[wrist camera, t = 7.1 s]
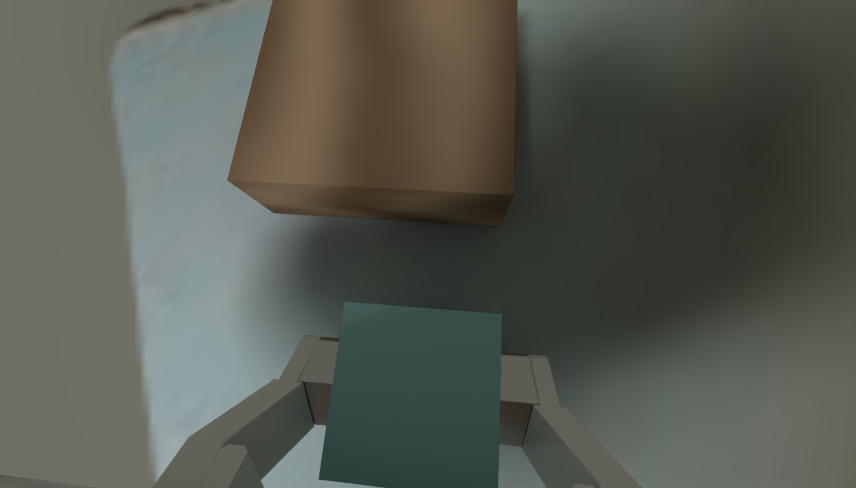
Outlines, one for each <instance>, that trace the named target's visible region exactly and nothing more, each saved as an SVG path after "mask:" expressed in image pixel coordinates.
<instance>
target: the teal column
mask: <svg viewBox="0 0 856 488" xmlns="http://www.w3.org/2000/svg"><path fill="white" fill-rule="evenodd" d="M501 342H502V314H497V313H484V312H471V311H459V310H446V309H433V308H420V307H408V306H395V305H382V304H369V303H356V302H344V307H343V314H342V321H341V328H340V335H339V342H338V349H337V356H336V363H335V370H334V377H333V383H332V390H331V397H330V404H329V411H328V418H327V425H326V432H325V439H324V446H323V453H322V460H321V467H320V474H319V480H327V481H336V482H344V483H352V484H360V485H369V486H377V487H385V488H498V461H499V421H500V382H501Z"/></svg>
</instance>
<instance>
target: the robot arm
mask: <svg viewBox="0 0 856 488" xmlns="http://www.w3.org/2000/svg"><path fill="white" fill-rule="evenodd" d="M338 342H339V338H330V337H318V336H309V335H306V336H305V337H304V338H303V339H302V340H301V342H300V344H299V345H298V347H297V349H296V351H295V352H294V354H293V356H292V358H291V359H290V361H289V363H288V365H287V366H286V368H285V370H284V372H283V373H282V375H281V377H280V379H279V380H276V379H274V380H272V381H271V382H269V383H268V384H266V385H265V386H263V387H262V388H261V389H259V390H258V391H256V392H255V393H253V394H252V395H250V396H249V397H247V398H246V399H244V400H243V401H241V402H240V403H239V404H237V405H236V406H234V407H233V408H231V409H230V410H228V411H227V412H225V413H224V414H222V415H221V416H219V417H218V418H217V419H215V420H214V421H212V422H211V423H209V424H208V425H206V426H205V427H203V428H202V429H200V430H199V431H197V432H196V433H194V434H193V435H192V436H190V437H189V438H188V439H187V441H186V442H185V443H184V445H183V446H182V448H181V449H180V450H179V452H178V453H177V454H176V456H175V457H174V459H173V460H172V461H171V463H170V464H169V466H168V467H167V468H166V470H165V471H164V473H163V474H162V475H161V477H160V478H159V479H158V481H157V482H156V484H155V485H154V486H153V488H264V487H263V485H262V482H261V479H262V478H263V477H264V476H265V475H266V474H267V473H268V472H269V471H270V470H271V469H272V468H273V467H274V466H275V465H276V464H277V463H278V462H279V461H280V460H281V459H282V458H283V457H284V456H285V455H286V454H287V453H288V452H289V451H290V450H291V449H292V448H293V447H294V446H295V445H296V444H297V443H298V442H299V441H300V440H301V439H302V438H303V437H304V436H305V435H306V434H307V433H308V432H309V431H310V430H311V429H312V428H313V427H314V424H315V425H327V418H328V411H329V404H330V397H331V390H332V383H333V377H334V370H335V363H336V356H337V349H338ZM499 444H505V445H512V446H519V447H522V449H523V451H524V453H525V454H526V456H527V457H528V459H529V460H530V462H531V464H532V465H533V467H534V468H535V470H536V472H537V473H538V475H539V476H540V478H541V480H542V481H543V483H544V484H545V486H546V487H547V488H641V487H640V486H639V485H638V483H637V482H636V481H635V480H634V479H633V478H632V477H631V476H630V475H629V474H628V473H627V472H626V471H625V470H624V469H623V467H622V466H621V465H620V464H619V463H618V462H617V461H616V460H615V459H614V458H613V457H612V456H611V455H610V454H609V453H608V452H607V450H606V449H605V448H604V447H603V446H602V445H601V444H600V443H599V442H598V441H597V440H596V439H595V438H594V437H593V436H592V435H591V433H590V432H589V431H588V430H587V429H586V428H585V427H584V426H583V425H582V424H581V423H580V422H579V421H578V420H577V419H576V417H575V416H574V415H573V414H572V413H571V412H570V411H569V410H568V409H567V408H563V407H561V406H560V402H559V398H558V394H557V390H556V387H555V383H554V379H553V375H552V372H551V368H550V364H549V360H548V358H547V357H546V356H539V355H527V354H515V353H502V352H501V382H500V421H499ZM0 488H99V487H90V486H84V485H76V484H67V483H61V482H53V481H45V480H37V479H30V478H22V477H14V476H6V475H0Z"/></svg>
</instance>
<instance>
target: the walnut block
mask: <svg viewBox="0 0 856 488" xmlns="http://www.w3.org/2000/svg"><path fill="white" fill-rule="evenodd" d="M516 53H517V0H273V2H272V6H271V10H270V14H269V18H268V22H267V25H266V29H265V33H264V37H263V41H262V45H261V49H260V53H259V57H258V61H257V65H256V69H255V73H254V77H253V81H252V85H251V89H250V93H249V97H248V101H247V105H246V109H245V112H244V116H243V120H242V124H241V128H240V132H239V136H238V140H237V144H236V148H235V152H234V156H233V160H232V164H231V168H230V172H229V176H228V181H229V182H231V183H232V184H233V185H235V186H236V187H238V188H239V189H240V190H242V191H243V192H245V193H246V194H248V195H249V196H250V197H252V198H253V199H255V200H256V201H257V202H259V203H260V204H262V205H263V206H265V207H266V208H267V209H269V210H270V211H272V212H273V213H282V214H299V215H316V216H333V217H350V218H367V219H384V220H402V221H419V222H436V223H453V224H470V225H487V226H500V224H501V222H502V220H503V218H504V215H505V213H506V211H507V209H508V207H509V205H510V202H511V200H512V198H513V196H514V161H515V107H516Z"/></svg>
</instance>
